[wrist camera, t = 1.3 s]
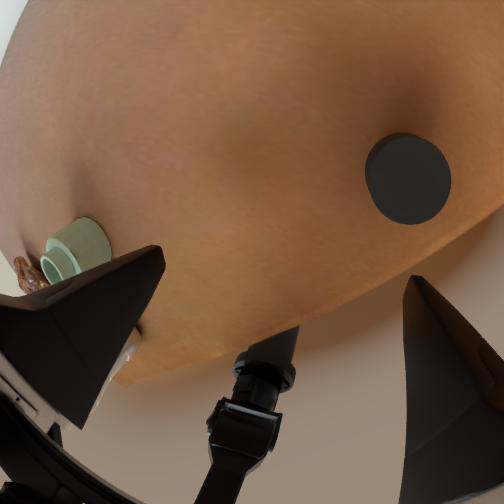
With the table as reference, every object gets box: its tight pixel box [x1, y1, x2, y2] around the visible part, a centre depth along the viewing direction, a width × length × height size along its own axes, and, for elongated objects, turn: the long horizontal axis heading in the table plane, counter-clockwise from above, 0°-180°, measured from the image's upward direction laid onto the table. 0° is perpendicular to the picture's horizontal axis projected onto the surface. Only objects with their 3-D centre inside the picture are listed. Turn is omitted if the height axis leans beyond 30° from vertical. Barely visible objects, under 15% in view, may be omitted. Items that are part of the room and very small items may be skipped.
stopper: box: [365, 133, 451, 225], centre depth 15 cm, size 5×5×5 cm
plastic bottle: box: [55, 327, 141, 432], centre depth 30 cm, size 6×7×20 cm
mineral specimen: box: [14, 256, 52, 294], centre depth 40 cm, size 12×8×7 cm
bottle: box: [40, 217, 112, 285], centre depth 27 cm, size 7×7×8 cm
